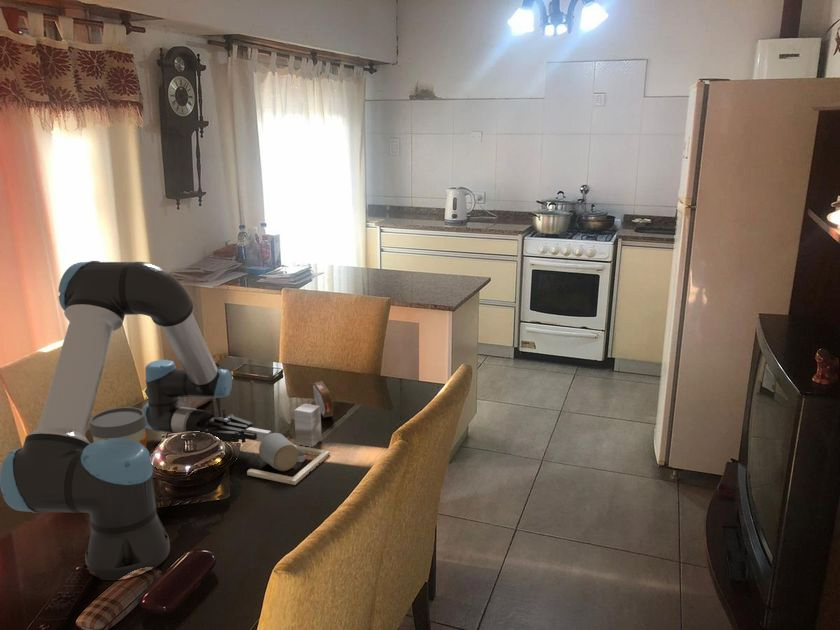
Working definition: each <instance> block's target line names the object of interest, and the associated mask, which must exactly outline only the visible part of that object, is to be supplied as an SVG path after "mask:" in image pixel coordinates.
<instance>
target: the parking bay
mask: <svg viewBox="0 0 840 630" xmlns="http://www.w3.org/2000/svg"><path fill="white" fill-rule="evenodd" d="M293 445H294V446H295V447H296V448H297V450H299V451H301V452H305V453H304V454H307V453H310V454H309V455H313V454H315V455H314V456H316V457H315V458H314V459H313V460H312V461H310V462H309V463H307V465H306V466H304V467H303V468H301V470H299V471H298V472H297V473H296V474H295V475H294V476H290V475H289V476H288V475H283V474H280V473H274V472H269V471H264V470H260V469H255V468H249V469H248V470H246V475H247V476H251V477H256V478H259V479H260V478H261V479H265V480H270V481H275V482H280V483H283V484H284V483H285V484H287V485H288V484H289V485H294V486H296V485H297V484H298V483H299V482H300V481H301V480H303V479H304V478H305V477H306V476H307V475H309V474H310V473H311V472H312V471H313V470H314V469H315V468H317V467H318V466H319V465H320V464H321V463H322V462H323V460H324V459H325V458H326V457H327V456H328V455H329V454H330V455H331V451H330V450H325V449H320V448H314V447H313V448H311V447H305V446H300V445H296V444H293ZM318 455H319V456H318ZM330 455H329V456H330ZM329 456H328V457H329ZM328 457H327V458H328ZM327 458H326V459H327ZM326 459H325V460H326ZM325 460H324V461H325ZM319 463H320V464H319ZM316 466H317V467H316ZM310 471H311V472H310ZM309 472H310V473H309Z"/></svg>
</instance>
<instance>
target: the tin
mask: <svg viewBox="0 0 840 630" xmlns="http://www.w3.org/2000/svg"><path fill="white" fill-rule="evenodd" d="M312 389H313V400H314V403H315V404H314V405H317V406H320V412H321V416H322V418H329V417H333V415H334V405H333V401H332V396H331V393H330V391H329V389H328V388H327V386H326V385H325V384H324V382H323V381H322V380H320V381H317V382H314V383H312Z"/></svg>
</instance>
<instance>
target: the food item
mask: <svg viewBox="0 0 840 630" xmlns="http://www.w3.org/2000/svg"><path fill="white" fill-rule="evenodd" d="M212 400H213V398H198V397H178V405H179V406H182V407H188V408H195V409H197V408H199V407H202V406H204V405H205V404H207V403H208V402H210V401H212Z"/></svg>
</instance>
